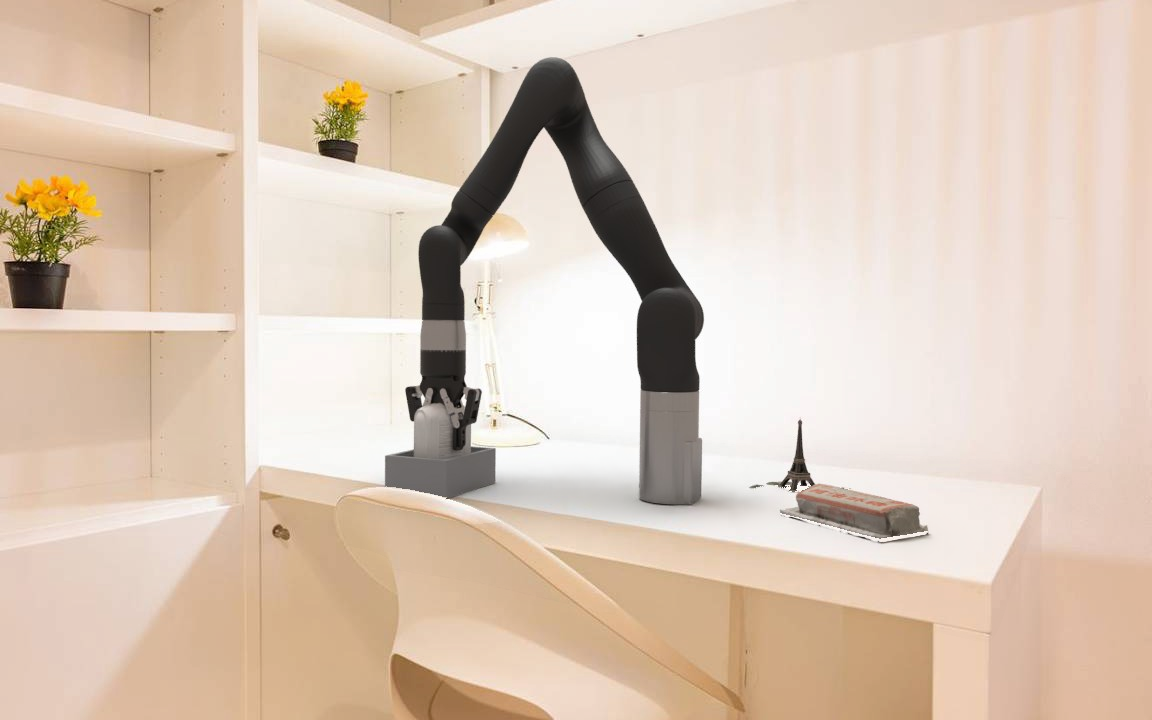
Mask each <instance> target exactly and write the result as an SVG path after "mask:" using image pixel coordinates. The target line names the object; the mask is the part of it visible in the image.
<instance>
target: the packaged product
mask: <svg viewBox="0 0 1152 720" xmlns="http://www.w3.org/2000/svg"><path fill="white" fill-rule="evenodd" d="M808 487H809V488H807V489H805V490H802V491H801V492H797V493H796V494H795V501H796V503H797V506H795V507H788V508H785V509H779V514H780V513H782V514H786V515H790V516H794V517H799V518H802V519H807V520H810V521H814V522H817V523H821V524H825V525H829V526H833V527H837V528H840V529H844V530H847V531H851V532H855V533H859V534H862V535H867V536H871V537H875V538H879V539H881V538H887V537H893V536H900V535H907V534H913V533H917V532H924V531H928V532H929V527H928V525H927V524H926V525H922V524H921V523H920V522H921V521H920V515H921V513H920V507H919V506H917V505H915V504H912V503H908V502H903V501H899V500H894V499H891V498H888V497H887V498H886V497H882V496H880V495H879V496H878V495H875V494H869V493H864V492H861V491H858V490H857V491H856V490H852V489H851V490H848V489H843V488H844V487H841V486H840V487H841V488H840V487H839V486H835V485H831V484H824V483H815V485H813V486H808Z"/></svg>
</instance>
